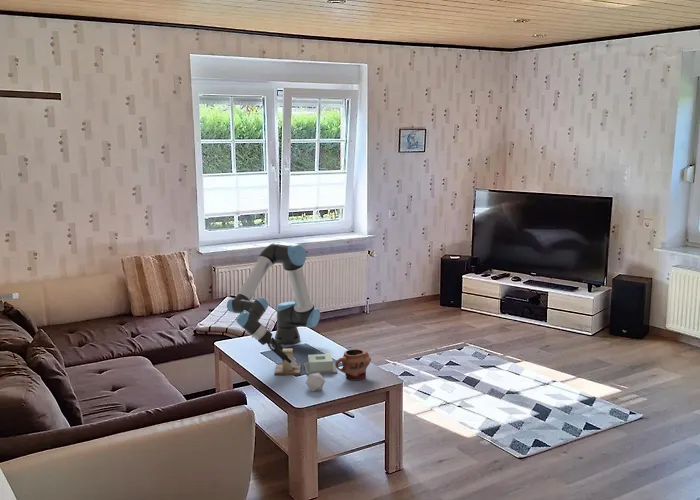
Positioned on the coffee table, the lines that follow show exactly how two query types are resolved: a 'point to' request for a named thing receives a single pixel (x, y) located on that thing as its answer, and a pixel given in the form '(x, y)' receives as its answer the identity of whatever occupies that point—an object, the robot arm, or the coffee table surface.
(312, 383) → the die
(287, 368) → the wooden t-shaped block
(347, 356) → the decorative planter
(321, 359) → the square socket base
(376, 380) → the coffee table surface
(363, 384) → the coffee table surface
